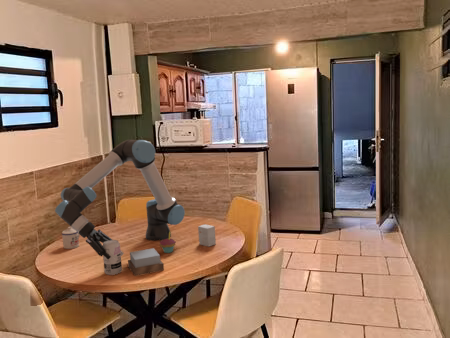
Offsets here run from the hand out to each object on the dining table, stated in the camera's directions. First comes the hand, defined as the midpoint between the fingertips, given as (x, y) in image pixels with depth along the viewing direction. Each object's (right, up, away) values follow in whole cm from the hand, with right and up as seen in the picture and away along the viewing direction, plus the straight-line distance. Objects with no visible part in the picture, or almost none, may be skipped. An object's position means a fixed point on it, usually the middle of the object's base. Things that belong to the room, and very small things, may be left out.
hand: (118, 258), depth 210 cm
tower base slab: (+12, -6, +5) cm, 14 cm away
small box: (+41, 0, +37) cm, 55 cm away
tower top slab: (+12, -2, +4) cm, 13 cm away
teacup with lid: (-38, -2, +46) cm, 59 cm away
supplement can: (-3, -7, +1) cm, 8 cm away
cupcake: (+20, -2, +28) cm, 34 cm away
